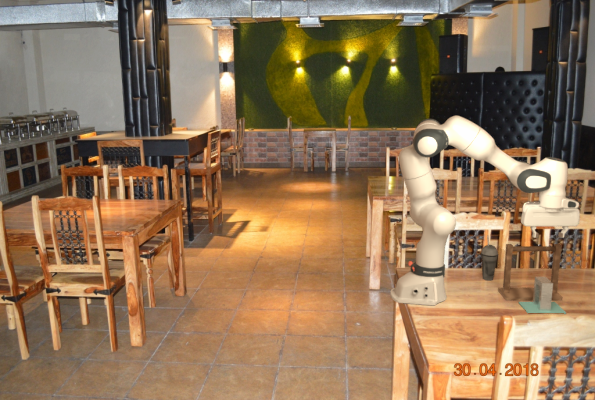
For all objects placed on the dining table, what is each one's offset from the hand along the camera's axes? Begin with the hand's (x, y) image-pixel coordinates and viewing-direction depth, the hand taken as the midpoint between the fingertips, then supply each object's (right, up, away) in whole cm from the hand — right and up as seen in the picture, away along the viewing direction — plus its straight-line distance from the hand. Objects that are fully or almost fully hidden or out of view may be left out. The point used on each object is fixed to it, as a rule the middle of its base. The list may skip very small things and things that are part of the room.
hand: (548, 237), depth 200 cm
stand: (+1, -25, +18) cm, 31 cm away
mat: (0, -28, +6) cm, 29 cm away
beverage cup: (-9, -21, +38) cm, 44 cm away
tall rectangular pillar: (0, -27, +6) cm, 28 cm away
